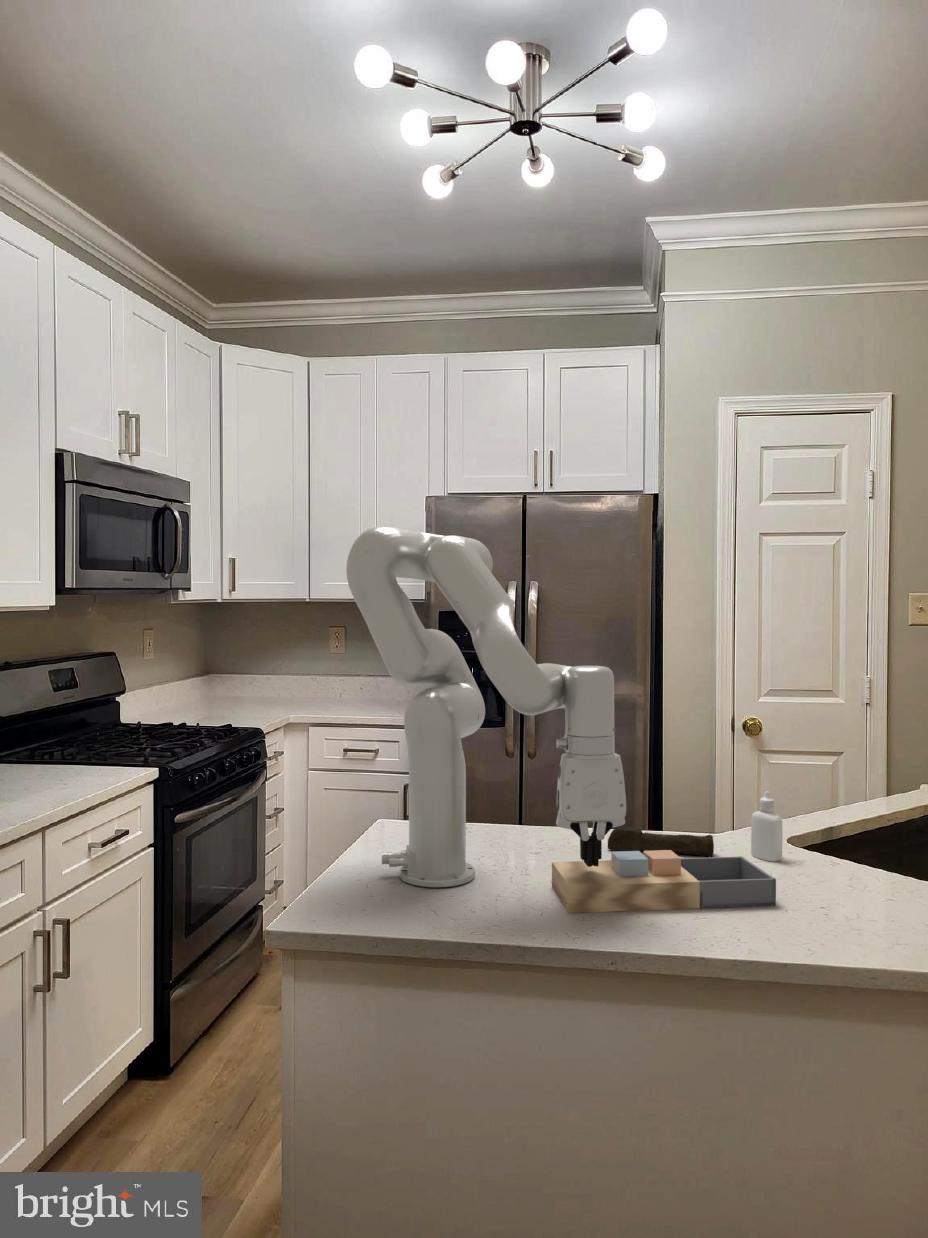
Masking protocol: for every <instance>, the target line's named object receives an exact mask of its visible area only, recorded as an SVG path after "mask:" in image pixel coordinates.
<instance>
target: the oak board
mask: <svg viewBox="0 0 928 1238" xmlns="http://www.w3.org/2000/svg"><path fill="white" fill-rule="evenodd" d="M551 888H552V889H553V891H554V892H555V894H556V895H557V896H558V899H559V900H560V902H561V903H562V905H563V906H564V908H565V909H566V911H567V912H568V913H570V914H575V913H580V914H581V913H602V912H603V913H605V912H606V913H607V912H608V913H609V912H629V911H630V912H631V911H637V912H638V911H657V910H658V911H659V910H661V911H662V910H688V909H690V910H691V909H701V908H700V882H699V881H698V880H697V879H696V878H695V877H693V876H692V875H691V874H690V873H689V872H687V871H686V870H685V869H684V868H683V867H681V874H677V875H652V874H651V873H650V872H649V871H648V875H644V876H619V875H618V874H617V873H616V872H615V871H614V870H613V869H612V868H611V859H609V860H599V866H592V867H588V866H587V865H586V864H585V863H584V860H579V861H578V860H575V861H572V860H571V861H551Z"/></svg>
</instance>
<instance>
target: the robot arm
mask: <svg viewBox="0 0 928 1238" xmlns="http://www.w3.org/2000/svg"><path fill="white" fill-rule="evenodd" d="M493 565H494V563H493V558H492V555H491V552H490V550H489V549H488V547H487V546H486V545H485V544H484V543H482V542H481V541H479V540H477V539H476V538H475V539H474V538H471V537H466V536H460V535H452V534H451V535H443V534H441V535H440V534H435V533H429V532H422V531H417V530H410V529H406V528H400V527H394V526H387V525H386V526H374V527H372V528H368V529H367V530H365V531H363V532H362V533H360V535H359V536H358V537H357V538H356V539H355V540H354V542H353V544H352V545H351V548H350V549H349V553H348V556H347V561H346V569H345V570H346V579H347V583H348V587H349V590H350V592H351V595H352V597H353V599H354V602H355V604H356V606H357V607H358V609H359V611H360V613H361V616H362V617H363V618H364V621H365V624H366V625H367V627H368V630H369V633H370V635H371V637H372V639H373V641H374V644H375V646H376V648H377V650H378V653H379V654H380V656H381V659H382V660H383V663H384V665H385V667H386V669H387V671H388V674H389V675H390V677H391V678H392V679H393V681H395V682H396V683H397V684H399V685H403V686H408V687H410V686H412V687H413V686H418V685H420V686H422V688H423V690H422V691H420V692H418V693H416V694H415V695H414V696H413V697H412V698H411V699H410V701H409V702H408V705H407V706H406V708H405V712H404V716H403V717H404V718H403V719H404V720H403V724H404V725H403V727H404V733H405V740H406V745H407V746H406V747H407V756H408V804H409V805H408V845H407V844H406V847H405V849H404V850H403V849H402V850H400V852H381V865H388V866H389V868H398V867H400V869H399V878H400V880H402V881H403V882H405V883H407V884H409V885H413V886H417V887H424V888H448V887H457V886H460V885H461V886H462V885H465V884H467V883H469V882H471V881H472V880H473V879H474V878H475V877H476V869H475V867H474V866H473V865H472V864H471V863H467V862H466V859H467V858H466V857H467V856H466V853H467V851H466V850H467V849H466V845H467V844H466V841H467V839H466V838H467V837H466V836H467V835H466V833H467V832H466V831H467V823H466V822H467V820H466V819H467V816H466V815H467V809H466V808H467V803H466V802H467V772H466V771H467V768H466V759H465V754H464V753H465V752H464V748H463V743H462V739H463V738H466V737H468V736H471V735H473V734H474V733H476V732H477V731H478V730H479V729H480V728H481V726H482V725H483V723H484V720H485V718H486V717H485V716H486V705H485V702H484V701H485V700H484V697H483V695H482V692H481V690H480V688H479V687H478V684H477V682H476V680H475V677H474V676H473V674H472V672H471V670H470V668H469V666H468V663H467V662H466V660H465V657H464V656H463V653H462V651H461V649H460V648H459V646H458V645H457V643H456V642H455V641H454V639H453V638H452V637H451V636H449V634H447V633H446V632H444V631H441V630H439V629H436V628H435V629H434V628H425V627H424V625H423V623H422V621H421V620H420V618H419V616H418V613H417V612H416V610H415V608H414V605H413V603H412V601H411V600H410V598H409V596H408V595H407V594H406V592H405V591H404V590H403V588H401V586H400V585H399V582H398V581H397V578H399V579H401V578H404V579H415V580H422V581H427V582H432V583H435V584H436V586H437V588H438V589H439V590H440V592H441V593H442V595H443V596H444V597H445V598H446V600H447V602H448V603H449V604H450V605H451V607H452V608H453V610H454V611H455V613H456V614H457V615H458V617H459V619H460V620H461V621H462V623H463V624H464V626H465V627H466V628H467V630H468V632H469V633H470V637H471V639H472V644H473V647H474V650H475V652H476V655H477V658H478V661H479V662H480V665H481V667H482V669H483V671H484V672H485V674H486V675H487V677H488V678H489V680H490V681H491V683H492V684H493V685H494V687H495V688H496V690H497V691H498V692H499V694H500V696H501V697H502V698H503V699H504V701H505V702H507V704H508V705H509V706H510V707H511V708H512V709H513V710H514V711H517V712H518V713H519V714H522V715H526V716H537V715H539V714H543V713H547V712H549V711H550V712H551V711H554V710H558V709H564V710H565V712H564V717H565V718H564V719H565V723H564V724H565V729H564V730H565V733H564V736H563V737H562V738H559V739H556V743H555V744H556V745H555V746H556V748H557V749H563V750H564V752H565V753H561V756H560V762H559V768H558V776H557V786H556V810H557V816H556V821H555V825H556V826H557V827H559V828H561V829H565V830H566V829H567V830H571V831H573V833H575V834H576V835H577V836H578V837H579V847H580V848H579V855H580V859H581V861H584V863H585V864H586V865H587V866H588V867H592V866H599V861H600V860H602V858H603V857H602V855H603V854H602V849H603V848H602V844H603V843H602V841H604V839H605V836H606V835H607V834H608V833H609V832H610V830H612V829H614V828H617V827H621V826H624V825H625V824H626V819H625V818H626V815H627V796H626V785H625V784H626V783H625V776H624V768H623V763H622V758H621V755H620V754H618V753H616V751H615V750H616V749H615V747H616V745H615V743H616V742H615V737H616V736H615V675H614V673H613V670H612V669H610V667H607V666H604V665H575V666H570V665H565V664H558V663H551V662H550V663H549V662H545V663H536V662H535V660H534V659H533V657H532V655H530V653H529V651H527V650H526V647H525V646H524V644H523V643H522V642H521V640H520V638H519V637H518V636H519V635H518V634H517V632H516V631H517V630H516V629H515V626H514V622H513V621H514V619H513V618H514V613H515V612H514V611H515V607H514V602H513V600H512V599H511V597H510V596H509V594H508V592H506V590H505V589H504V588H503V586H502V585H501V583H499V581H498V580H497V578H496V577H495V576H494V575H493V573H492V571H493ZM588 823H593V824H592V831H591V834H590V833H589V826H588Z"/></svg>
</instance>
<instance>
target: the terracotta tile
mask: <svg viewBox="0 0 928 1238" xmlns="http://www.w3.org/2000/svg"><path fill="white" fill-rule="evenodd" d="M642 854H643V855H644V856H645V857H646V858H647V859H648V871H649V872H650V873H651V874H652V875H677V874H681V857H680V856H679V855H678V854H677V853H674V852H673V851H671V850H654V851H643V852H642Z"/></svg>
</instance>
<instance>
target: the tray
mask: <svg viewBox="0 0 928 1238" xmlns="http://www.w3.org/2000/svg"><path fill="white" fill-rule="evenodd" d="M680 858H681V857H680ZM681 867H683V868H684V869H685V870H686V871H687V872H689V873H690V874H691V875H692V876H693V877H695V878H696V879H697V880H698V881H699V882H700V908H699V909H715V908H716V909H717V908H718V909H721V908H741V907H742V908H745V907H746V908H747V907H774V906H776V904H777V903H776V902H777V879H776V878H775V877H774V876H772V875H770V874H769V873H767V872H766V871H764V870H763V869H761V868H760V867H758V866H757V865H755V864H754V863H752V862H751V861H749V860H748V859H746V858H745V857H743V856H720V857H719V856H718V857H717V856H713V857H709V856H708V857H683V858H681Z"/></svg>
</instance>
